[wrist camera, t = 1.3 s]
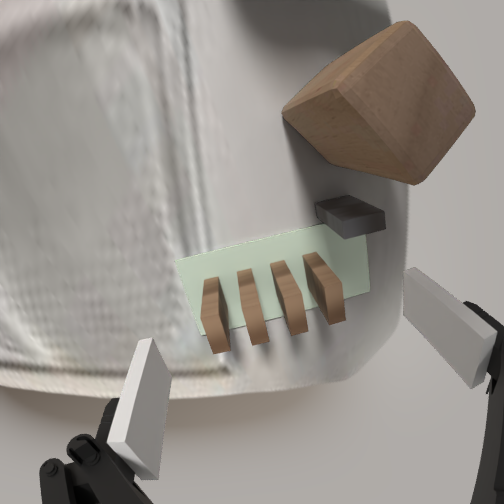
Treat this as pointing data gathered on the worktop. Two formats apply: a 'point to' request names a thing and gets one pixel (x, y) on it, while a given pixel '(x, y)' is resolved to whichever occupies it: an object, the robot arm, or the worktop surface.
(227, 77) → the worktop surface
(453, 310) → the robot arm
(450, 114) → the block
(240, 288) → the domino
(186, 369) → the worktop surface
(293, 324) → the domino
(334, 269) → the mat
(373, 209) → the dark gray domino
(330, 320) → the domino
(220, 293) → the domino end
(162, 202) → the worktop surface
